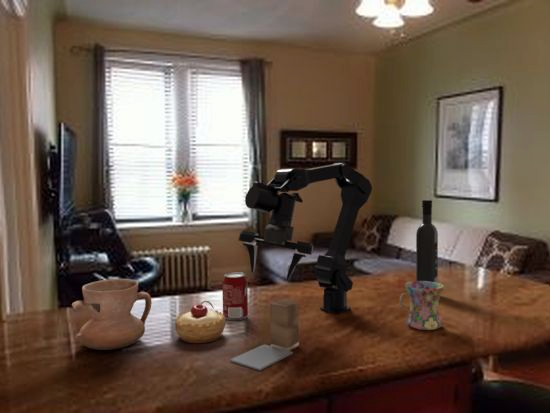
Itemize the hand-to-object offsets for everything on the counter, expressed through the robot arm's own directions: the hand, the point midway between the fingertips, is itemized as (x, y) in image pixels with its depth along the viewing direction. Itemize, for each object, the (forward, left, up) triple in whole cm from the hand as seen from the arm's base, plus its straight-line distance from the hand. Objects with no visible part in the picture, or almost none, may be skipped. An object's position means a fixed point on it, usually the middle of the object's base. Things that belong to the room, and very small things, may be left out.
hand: (269, 276), depth 120 cm
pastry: (+17, -6, -13) cm, 23 cm away
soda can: (+2, -12, -13) cm, 18 cm away
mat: (+15, +15, -13) cm, 25 cm away
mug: (-26, +27, -13) cm, 40 cm away
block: (+7, +13, -13) cm, 20 cm away
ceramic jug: (+34, -16, -13) cm, 40 cm away
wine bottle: (-55, +12, -13) cm, 57 cm away
